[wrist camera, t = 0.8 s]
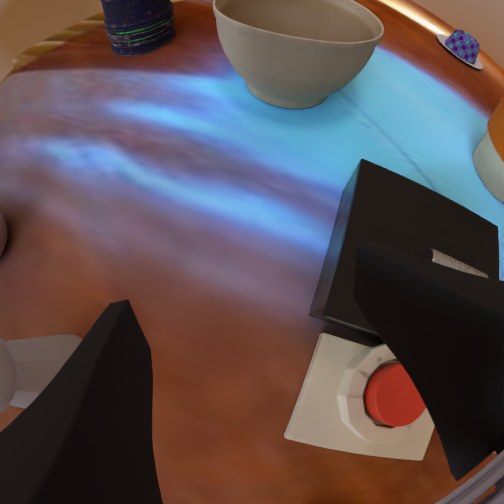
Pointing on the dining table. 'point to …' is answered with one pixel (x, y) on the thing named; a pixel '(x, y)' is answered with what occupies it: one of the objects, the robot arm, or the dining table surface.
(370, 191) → the lid
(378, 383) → the button
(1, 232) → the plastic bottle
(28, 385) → the salt shaker
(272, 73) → the planter bowl
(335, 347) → the button base
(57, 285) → the dining table surface
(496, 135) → the reusable coffee cup
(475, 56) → the pudding
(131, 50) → the storage jar
